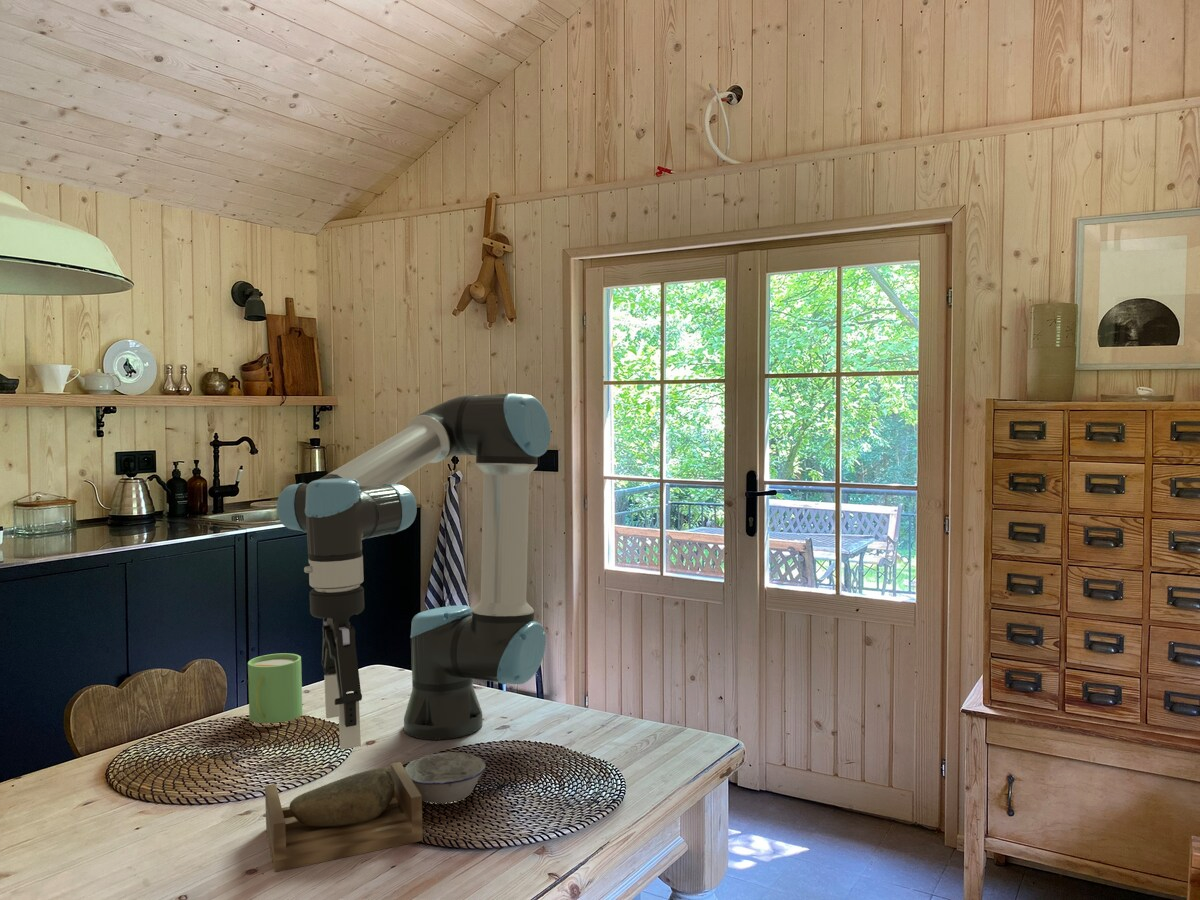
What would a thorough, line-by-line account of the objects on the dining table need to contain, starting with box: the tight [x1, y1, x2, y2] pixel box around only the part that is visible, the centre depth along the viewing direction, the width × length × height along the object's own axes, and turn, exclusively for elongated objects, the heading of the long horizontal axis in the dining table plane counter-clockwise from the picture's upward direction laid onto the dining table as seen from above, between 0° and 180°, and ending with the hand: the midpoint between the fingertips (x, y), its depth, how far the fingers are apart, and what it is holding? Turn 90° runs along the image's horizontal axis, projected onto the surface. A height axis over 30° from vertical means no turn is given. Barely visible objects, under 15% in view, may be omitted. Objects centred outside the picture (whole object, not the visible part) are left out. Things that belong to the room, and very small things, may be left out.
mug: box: [245, 652, 303, 724], centre depth 180 cm, size 13×10×12 cm
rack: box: [264, 761, 424, 873], centre depth 131 cm, size 20×14×6 cm
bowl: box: [404, 751, 487, 803], centre depth 144 cm, size 13×13×5 cm
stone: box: [288, 767, 395, 827], centre depth 131 cm, size 9×14×10 cm, turn 111°
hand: (342, 731), depth 131 cm, fingers open, 13 cm apart
